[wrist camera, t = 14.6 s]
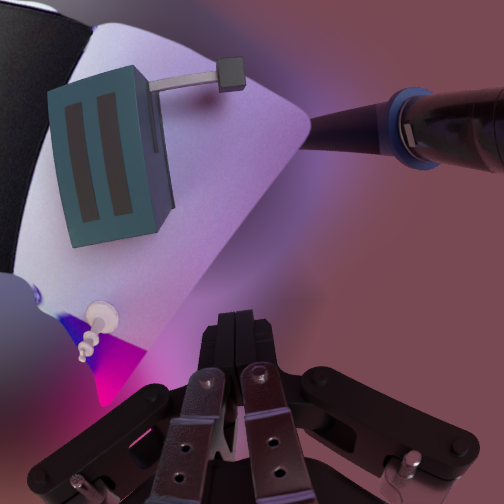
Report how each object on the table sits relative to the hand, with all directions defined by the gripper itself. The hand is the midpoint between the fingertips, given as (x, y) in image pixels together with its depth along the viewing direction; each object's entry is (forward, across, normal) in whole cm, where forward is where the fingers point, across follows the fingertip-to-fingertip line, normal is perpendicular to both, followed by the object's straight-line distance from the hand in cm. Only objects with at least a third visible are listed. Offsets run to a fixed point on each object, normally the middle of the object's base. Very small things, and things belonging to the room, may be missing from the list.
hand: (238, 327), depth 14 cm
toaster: (+24, +11, -8) cm, 28 cm away
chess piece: (+22, +21, +12) cm, 33 cm away
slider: (+21, +2, -14) cm, 25 cm away
